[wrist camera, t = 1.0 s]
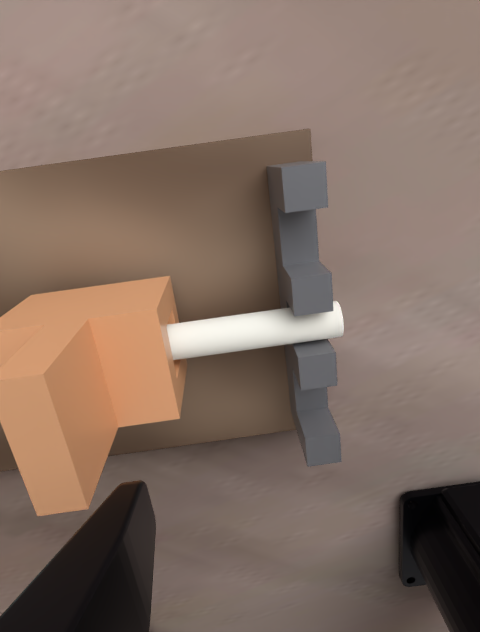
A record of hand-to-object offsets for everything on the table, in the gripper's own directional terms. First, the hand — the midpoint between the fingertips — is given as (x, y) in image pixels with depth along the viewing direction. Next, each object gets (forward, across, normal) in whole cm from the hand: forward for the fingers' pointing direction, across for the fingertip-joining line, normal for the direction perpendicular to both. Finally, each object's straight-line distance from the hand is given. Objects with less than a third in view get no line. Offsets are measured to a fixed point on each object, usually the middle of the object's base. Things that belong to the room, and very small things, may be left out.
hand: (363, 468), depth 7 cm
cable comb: (+9, -1, 0) cm, 9 cm away
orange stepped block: (+9, +6, 0) cm, 11 cm away
